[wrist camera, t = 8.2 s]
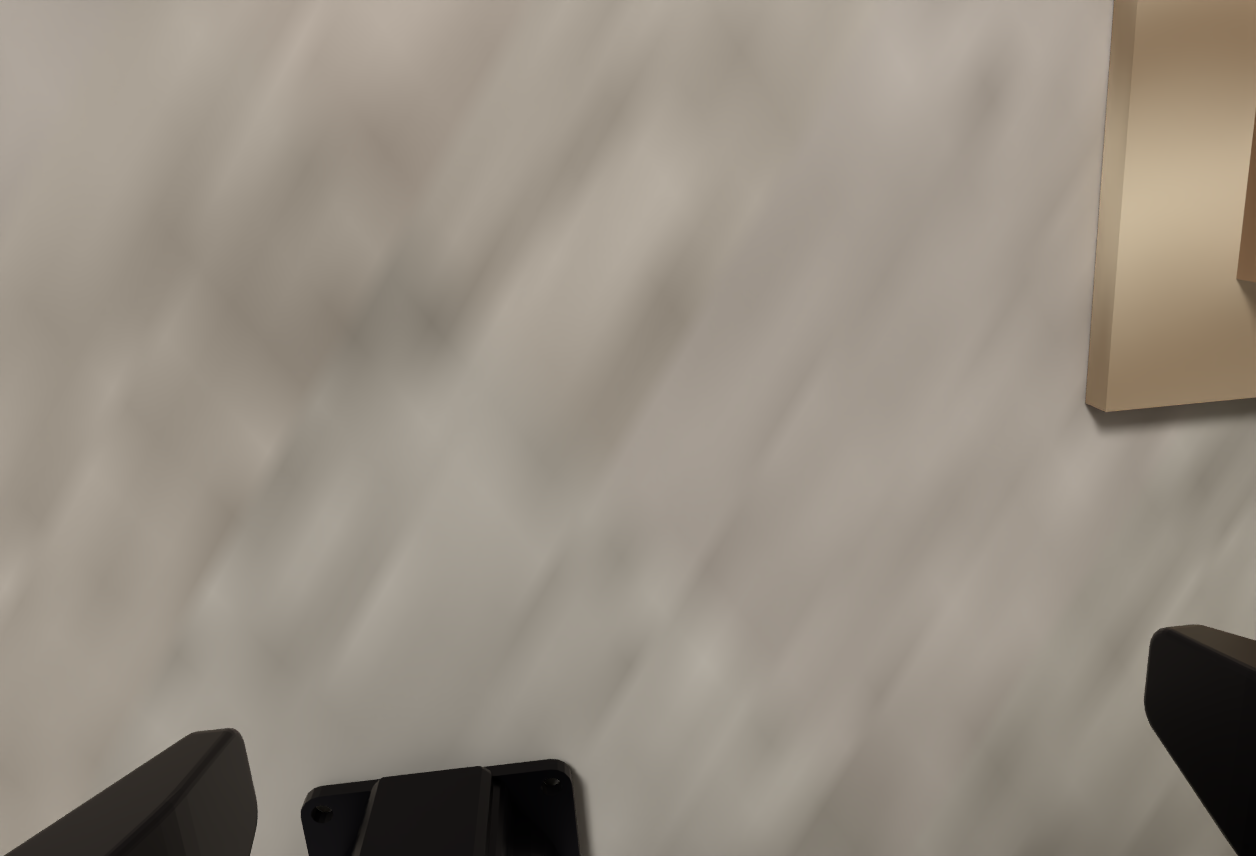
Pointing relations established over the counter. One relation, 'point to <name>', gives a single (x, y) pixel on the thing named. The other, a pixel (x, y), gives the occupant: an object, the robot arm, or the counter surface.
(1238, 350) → the well
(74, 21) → the counter surface
